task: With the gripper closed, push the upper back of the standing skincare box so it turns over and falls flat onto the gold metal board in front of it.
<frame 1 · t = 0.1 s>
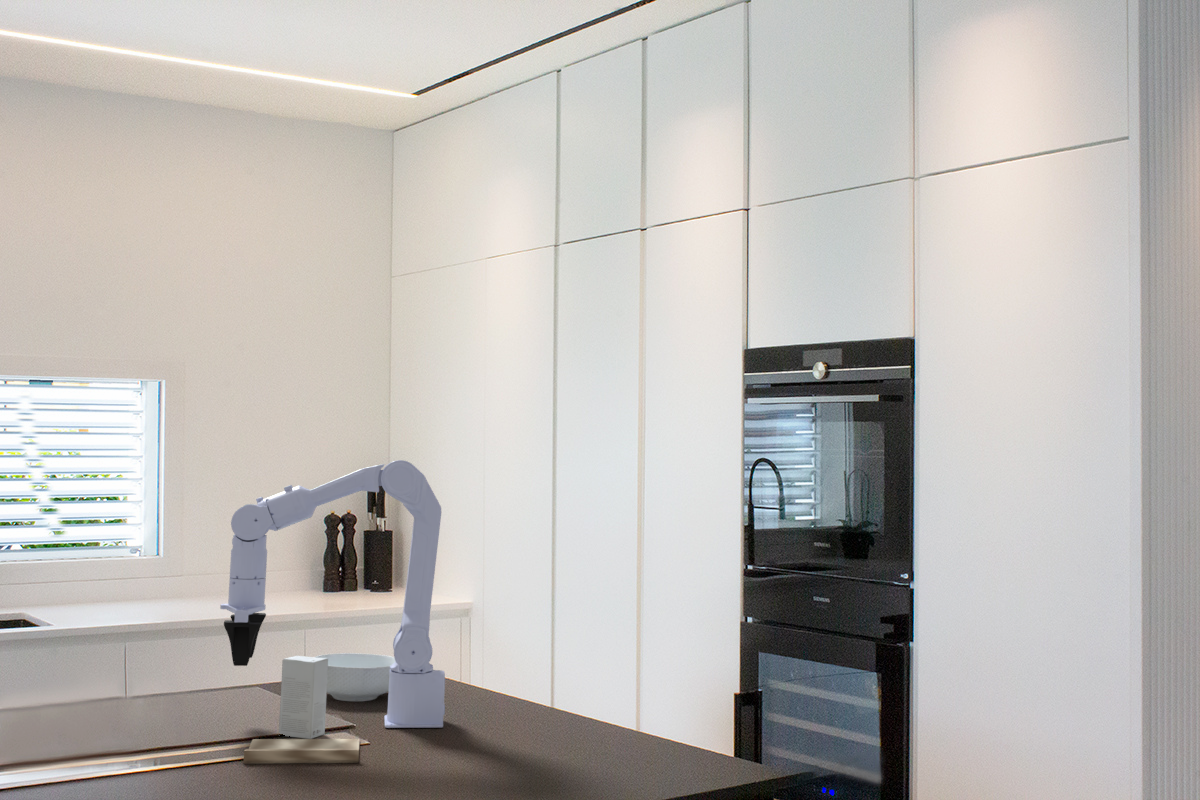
hand: (243, 661, 189), 10 cm above the kitchen island, fingers open, 7 cm apart
gold metal board: (304, 752, 172), on the kitchen island
cereal bowl: (355, 698, 213), on the kitchen island
skincare box: (301, 736, 182), on the kitchen island
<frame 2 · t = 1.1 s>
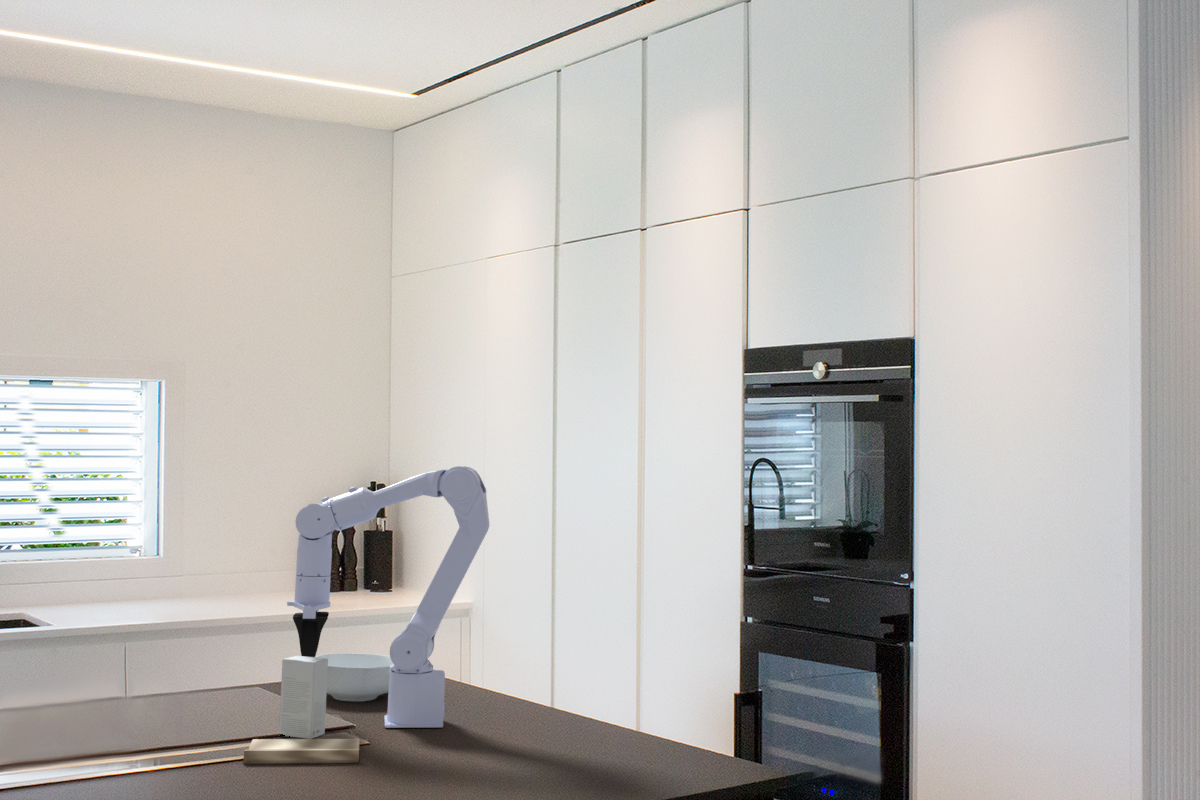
hand: (308, 656, 194), 10 cm above the kitchen island, fingers closed
nothing on the kitchen island moved.
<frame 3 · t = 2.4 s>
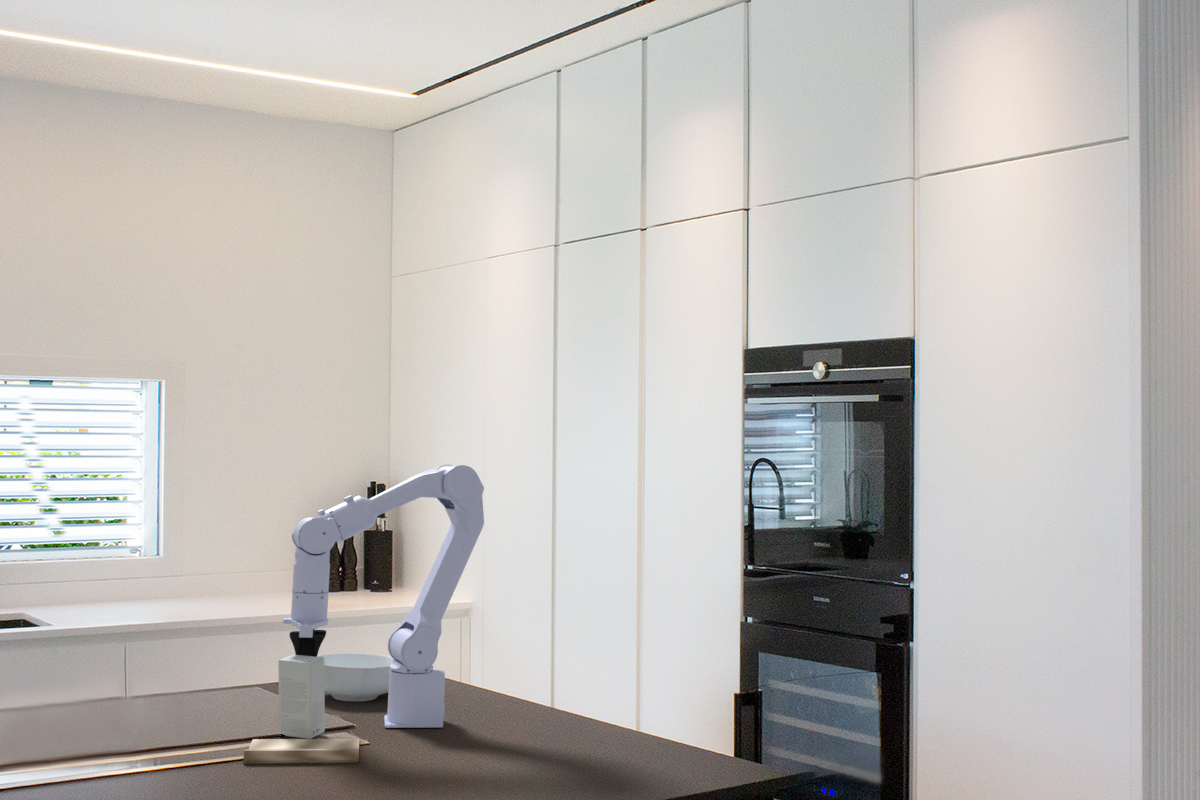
hand: (305, 676, 187), 8 cm above the kitchen island, fingers closed
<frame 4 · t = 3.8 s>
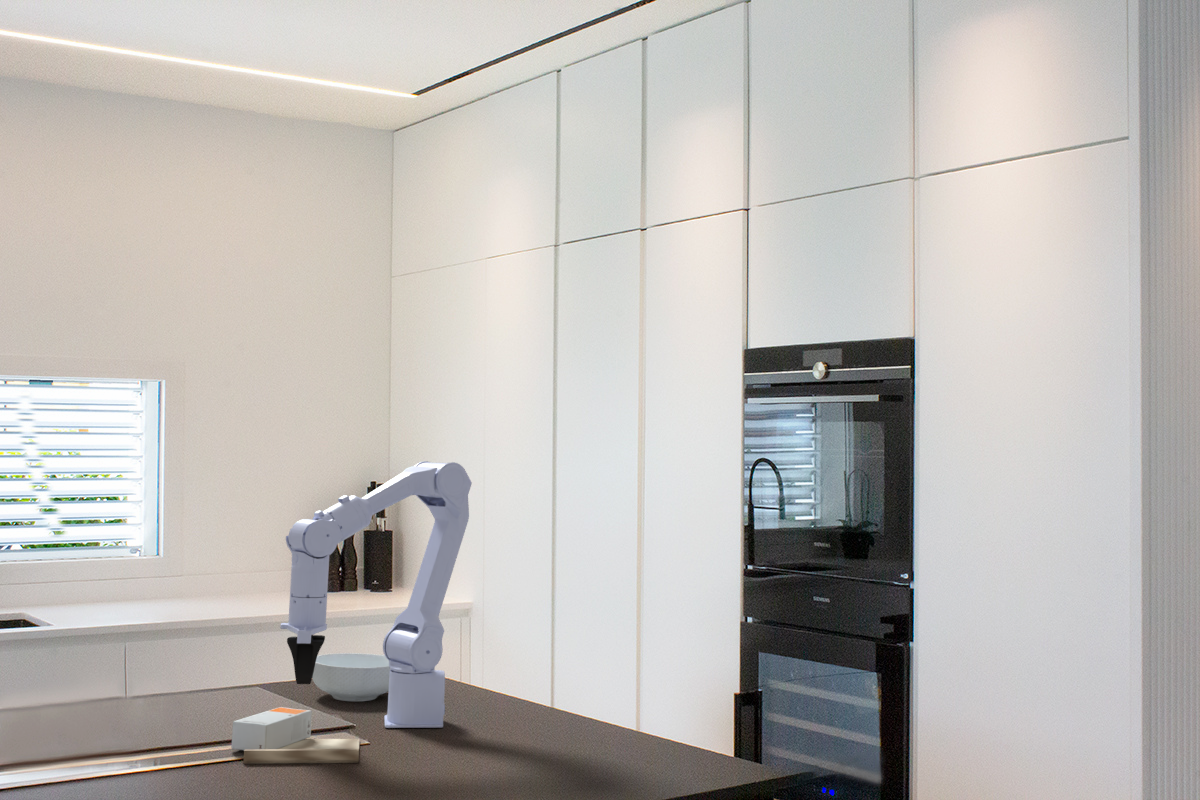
hand: (303, 683, 181), 8 cm above the kitchen island, fingers closed
skincare box: (296, 721, 181), point 3 cm above the kitchen island, touching gold metal board
everything else where it was.
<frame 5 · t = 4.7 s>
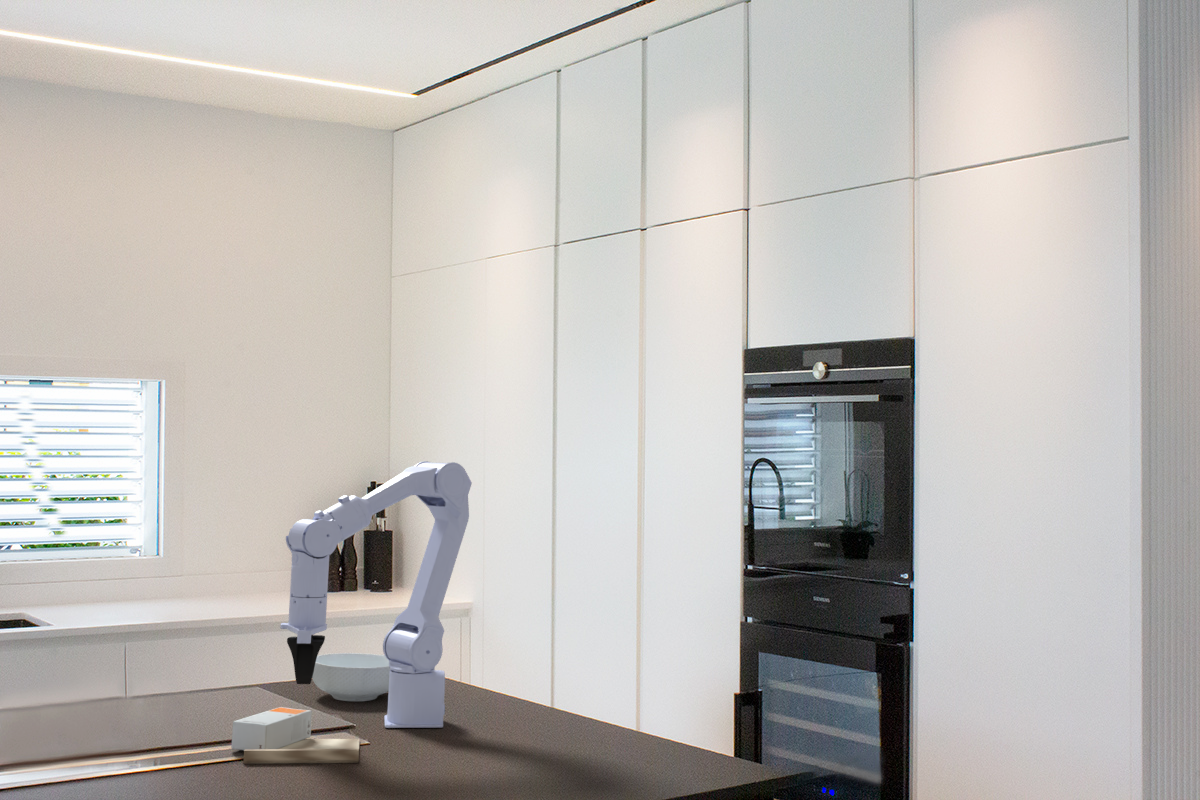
hand: (303, 683, 181), 8 cm above the kitchen island, fingers closed
nothing on the kitchen island moved.
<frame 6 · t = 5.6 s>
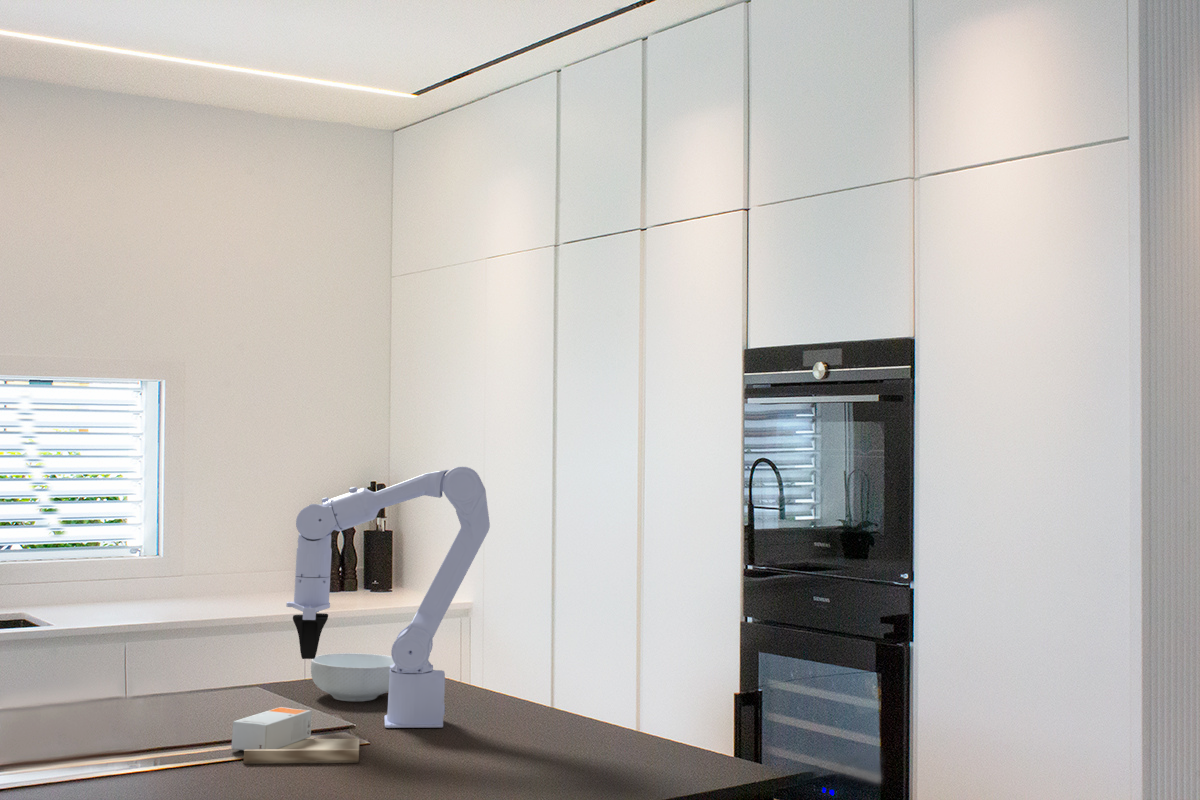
hand: (308, 658, 192), 10 cm above the kitchen island, fingers closed
nothing on the kitchen island moved.
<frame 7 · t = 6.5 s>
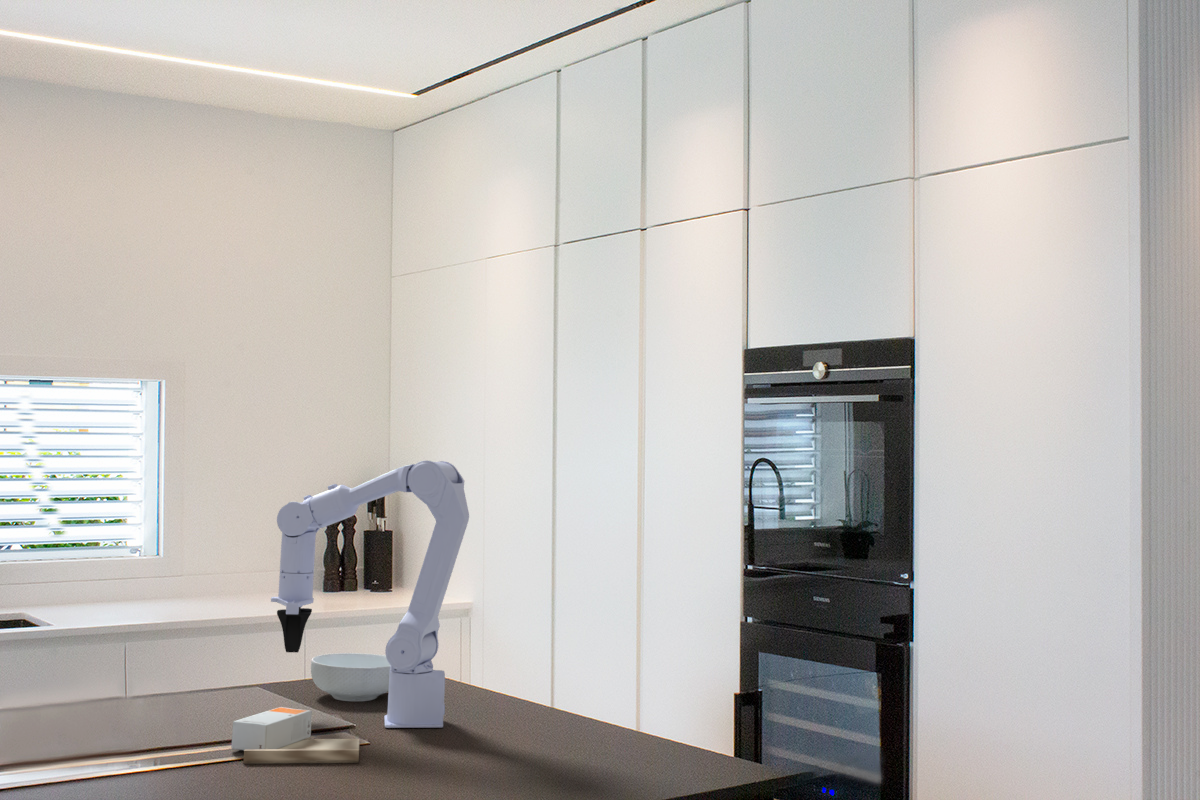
hand: (292, 651, 198), 10 cm above the kitchen island, fingers closed
nothing on the kitchen island moved.
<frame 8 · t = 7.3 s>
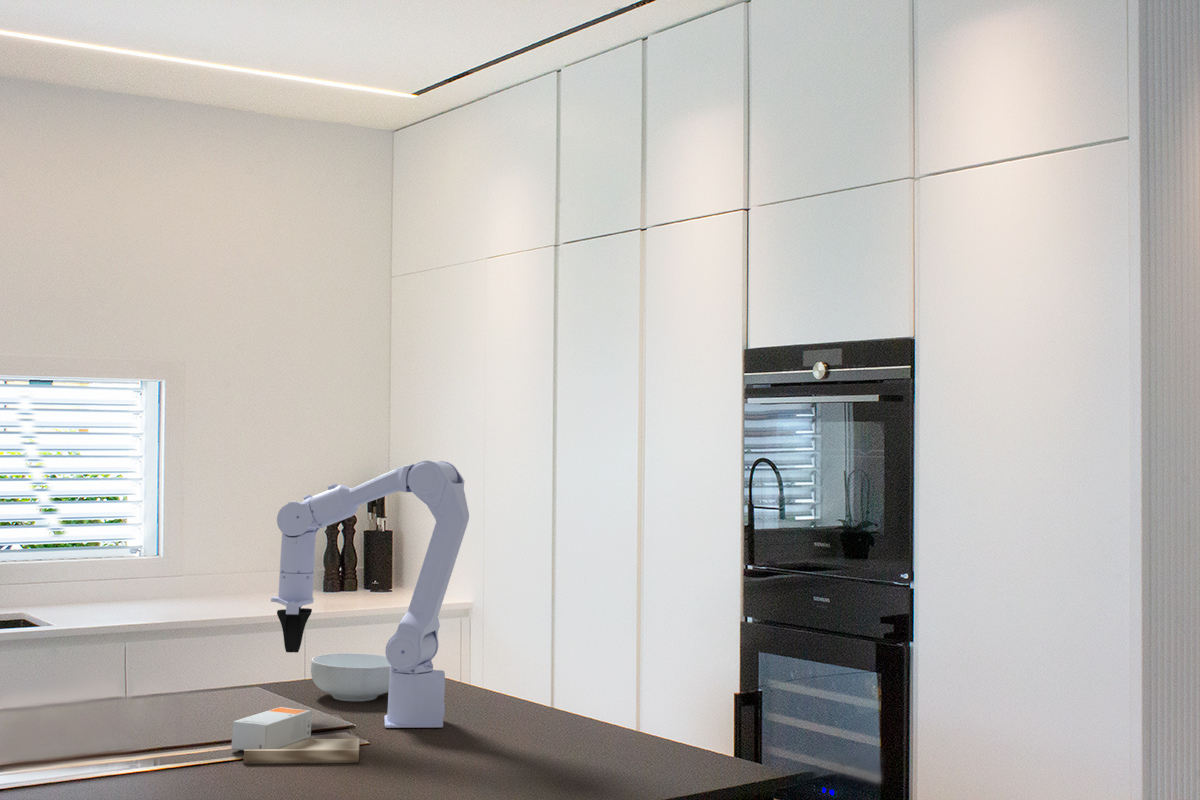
hand: (292, 651, 198), 10 cm above the kitchen island, fingers closed
nothing on the kitchen island moved.
at the end: skincare box tilted 91°; skincare box inside the target area (6.4 cm from its centre), point 2.5 cm above the kitchen island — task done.
